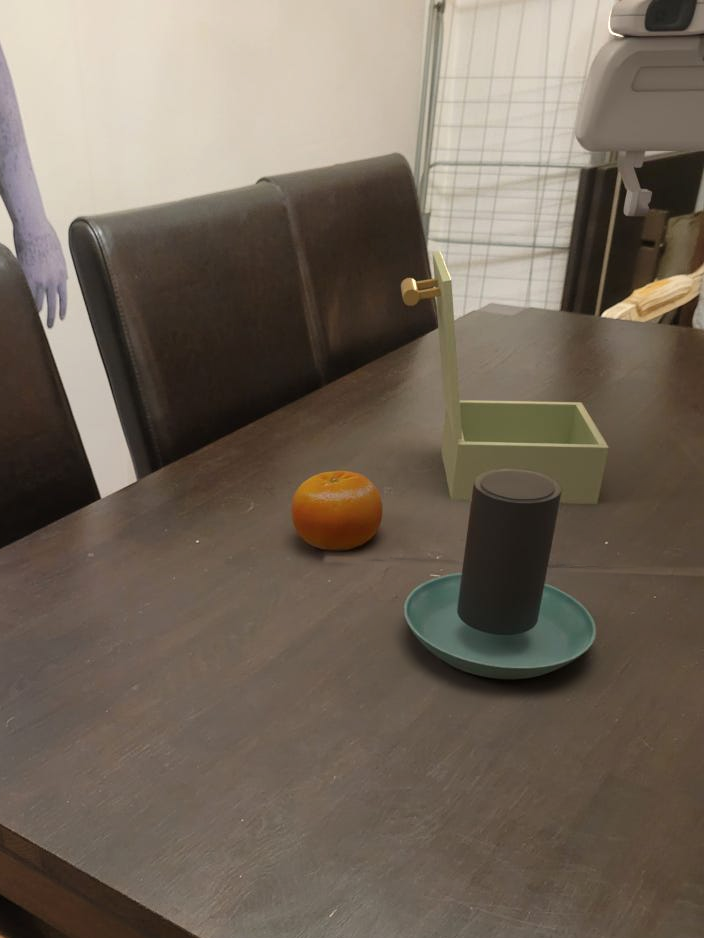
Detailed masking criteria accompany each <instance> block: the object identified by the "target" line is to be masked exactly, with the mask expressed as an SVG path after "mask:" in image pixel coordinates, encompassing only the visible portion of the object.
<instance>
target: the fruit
mask: <svg viewBox="0 0 704 938" xmlns="http://www.w3.org/2000/svg"><path fill="white" fill-rule="evenodd" d="M290 509H291V519H292V520H291V521H292V523H293V526H294V529H295V530H296V532H297V534H298V535H299V536H300V538H302V540H303V541H304V542H306V543H307V544H309V545H311V546H312V547H314V548H316V549H320V550H323V551H325V550H326V551H348V550H349V551H350V550H353V549H355V548H358V547H361V546H363V545H364V544H366V543H367V542H369V541H370V540H371V539H372V538H373V537H374V536H375V535H376V533H377V532H378V530H379V528H380V526H381V522H382V518H383V502H382V498H381V495H380V493H379V490H378V489H377V487H376V486H375V484H374V483H373V482H372V481H371V480H370V479H369V478H368V477H366V476H365V475H363V474H361V473H359V472H354V471H347V470H336V471H326V472H320V473H318V474H315V475H313V476H311V477H309V478H307V480H305V481H303V482H302V483H301V485H300V486H299V487H298V488H297V489H296V491H295V493H294V494H293V498H292V502H291V507H290Z"/></svg>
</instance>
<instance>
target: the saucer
mask: <svg viewBox="0 0 704 938" xmlns="http://www.w3.org/2000/svg"><path fill="white" fill-rule="evenodd" d="M461 576H462V572H456V573H450V574H449V573H448V574H446V575H441V576H437V577H435V578H432V579H429V580H427V581H425V582H423V583H421V584H419V585H418V586H416V587H415V588H414V589H413V590H412V591H410V592H409V594H408V595H407V597H406V599H405V601H404V605H403V615H404V618H405V620H406V622H407V624H408V626H409V629H410V630H411V632H412V633H413V634H414V636H415V637H416V638H417V640H418V641H419V642H420V643H421V645H423V646H424V648H426V649H427V650H428V651H429V652H431V653H432V654H433V655H434V656H436V657H437V659H439V660H441V661H442V662H444V663H446V664H448V665H450V666H451V667H453V668H455V669H457V670H460V671H462V672H465V673H468V674H471V675H475V676H479V677H482V678H483V677H484V678H489V679H497V680H522V679H530V678H531V679H532V678H537V677H539V676H540V677H541V676H544V675H546V674H548V673H551V672H554V671H557V670H559V669H562V668H563V667H565V666H567V665H569V664H570V663H572V662H574V661H575V660H576V659H578V658H580V657H581V656H582V655H584V654H585V653H586V652H587V651H588V650H589V649H590V648H591V647H592V645H593V643H594V641H595V639H596V636H597V627H596V622H595V620H594V618H593V616H592V615H591V614H590V612H589V610H588V609H587V608H586V607H585V606H584V605H583V604H582V603H581V602H580V601H578V599H575V597H573V596H571V595H570V594H569V593H567V592H564V591H563V590H561V589H559V588H557V587H555V586H552V585H550V584H548V583H545V584H544V589H543V595H542V600H541V606H540V611H539V617H538V622H537V624H536V625H535V626H534V627H533V628H532V629H531V630H529V631H527V632H524V633H521V634H515V635H495V634H489V633H485V632H482V631H479V630H476V629H474V628H472V627H470V626H468V625H467V624H465V623H464V622H463V621H462V620H461V619H460V618H459V616H458V613H457V607H458V599H459V591H460V584H461Z"/></svg>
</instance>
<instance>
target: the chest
mask: <svg viewBox="0 0 704 938" xmlns="http://www.w3.org/2000/svg"><path fill="white" fill-rule="evenodd" d="M460 414H461V429H462V439H457V440H454V437H453V433H452V429H451V425H450V421H449V417H448V412H447V408H446V407H445V412H444V421H443V423H444V424H443V432H442V441H441V449H440V450H441V451H440V453H441V457H442V462H443V467H444V472H445V475H446V477H445V478H446V482H447V487H448V492H449V496H450V500H451V501H471V500H472V492H473V484H474V480H475V479H476V477H477V476H479V475H480V474H482V473H485V472H488V471H493V470H500V469H518V470H526V471H532V472H536V473H540V474H543V475H546V476H548V477H550V478H552V479H554V480H555V481H557V482H558V483H559V484H560V486H561V489H562V492H561V497H560V503H559V504H577V505H579V504H581V505H598V502H599V497H600V492H601V489H602V488H601V487H602V483H603V478H604V472H605V469H606V463H607V459H608V454H609V450H610V447H609V445H608V444H607V442H606V440H605V439H604V437H603V435H602V434H601V432H600V430H599V429H598V427H597V426H596V424H595V422H594V420H593V419H592V417H591V416H590V414H589V412H588V411H587V409H586V407H585V406H584V404H583V403H582V402H581V401H580V402H579V401H577V402H576V401H529V400H528V401H527V400H526V401H525V400H523V401H522V400H521V401H520V400H476V399H475V400H473V399H471V400H469V399H460Z"/></svg>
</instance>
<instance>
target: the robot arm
mask: <svg viewBox="0 0 704 938" xmlns="http://www.w3.org/2000/svg"><path fill="white" fill-rule="evenodd" d="M608 30H609V32H610V33H611V34H612V35H615V36H616V37H614V38H611V39H609V40H608V41H606V42H605V43H604V44H603V45H601V47H600V49H599V50H598V51H597V52H596V54H595V55H594V57H593V60H592V62H591V65H590V67H589V70H588V74H587V77H586V80H585V84H584V88H583V92H582V95H581V99H580V102H579V108H578V112H577V117H576V122H575V129H574V136H575V139H576V141H577V142H578V144H579V145H580V147H581V148H582V149H584V150H585V151H588V152H593V153H594V152H595V153H597V152H604V153H605V152H618V158H617V163H616V166H617V168H618V171H619V174H620V177H621V180H622V182H623V184H624V188H625V190H626V195H625V199H624V203H623V205H624V206H623V215H625V216H626V217H647V215H648V214H649V210H650V207H649V204H650V202H652V201H651V199H652V196H653V192H652V191H651V190H649V189H647V188H641V185H640V182H639V180H638V176H637V173H636V170H635V169H637V168H639V169H641V168H642V167H643V165H644V160H645V154H646V152H704V0H620V1H617V2H616V3H614V5H613V6H612V7H611V10H610V13H609V19H608Z"/></svg>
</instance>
